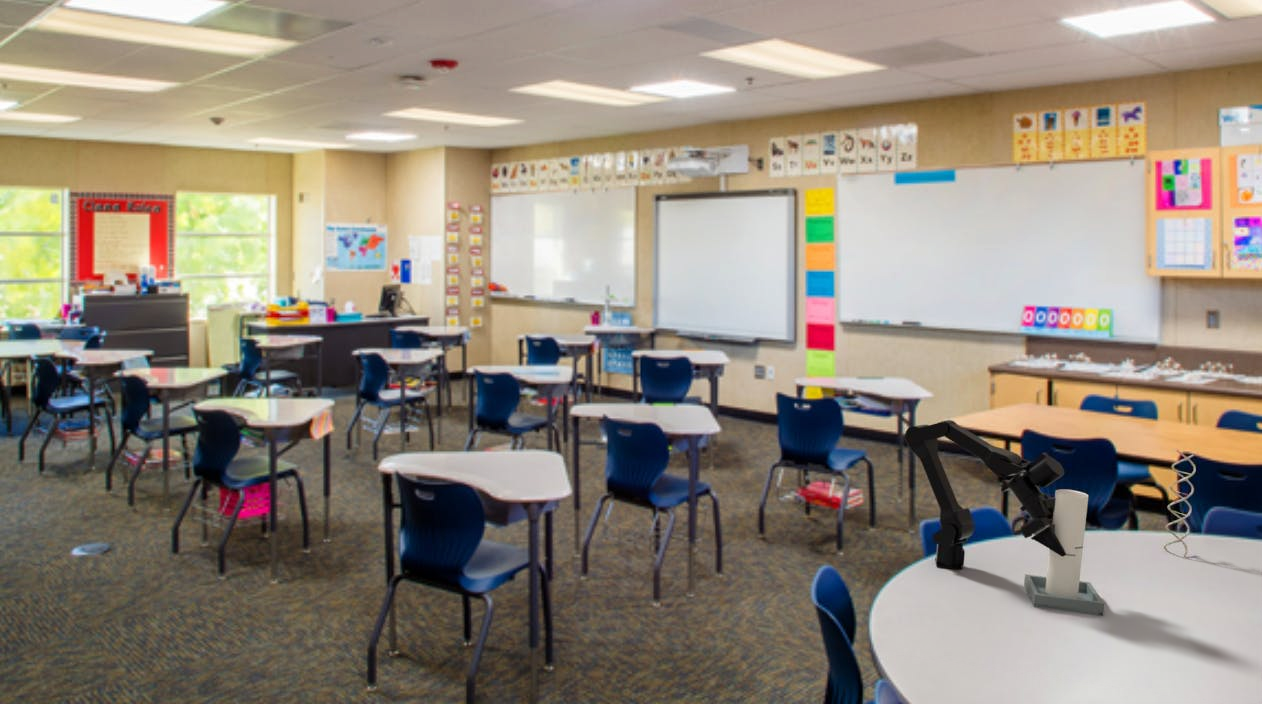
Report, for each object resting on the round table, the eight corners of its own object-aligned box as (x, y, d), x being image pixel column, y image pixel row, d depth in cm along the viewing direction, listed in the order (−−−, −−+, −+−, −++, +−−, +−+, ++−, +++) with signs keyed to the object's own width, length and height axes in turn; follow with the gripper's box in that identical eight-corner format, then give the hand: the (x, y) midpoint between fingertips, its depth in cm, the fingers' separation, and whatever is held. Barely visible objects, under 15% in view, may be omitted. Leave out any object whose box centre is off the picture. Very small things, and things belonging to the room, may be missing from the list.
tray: (1033, 606, 211) (1034, 594, 210) (1023, 585, 225) (1024, 574, 225) (1103, 615, 207) (1104, 603, 206) (1088, 593, 221) (1090, 582, 221)
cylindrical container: (1084, 598, 214) (1095, 496, 211) (1060, 600, 211) (1071, 497, 209) (1062, 587, 220) (1072, 489, 218) (1038, 589, 218) (1048, 489, 216)
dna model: (1156, 550, 260) (1166, 449, 257) (1173, 549, 262) (1183, 449, 259) (1176, 557, 254) (1187, 454, 251) (1193, 556, 256) (1204, 454, 253)
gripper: (1038, 484, 210) (1081, 543, 203) (1073, 475, 222) (1115, 530, 215) (1003, 509, 217) (1043, 566, 210) (1038, 498, 229) (1078, 552, 222)
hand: (1071, 552), depth 214 cm, fingers closed on cylindrical container, 7 cm apart
